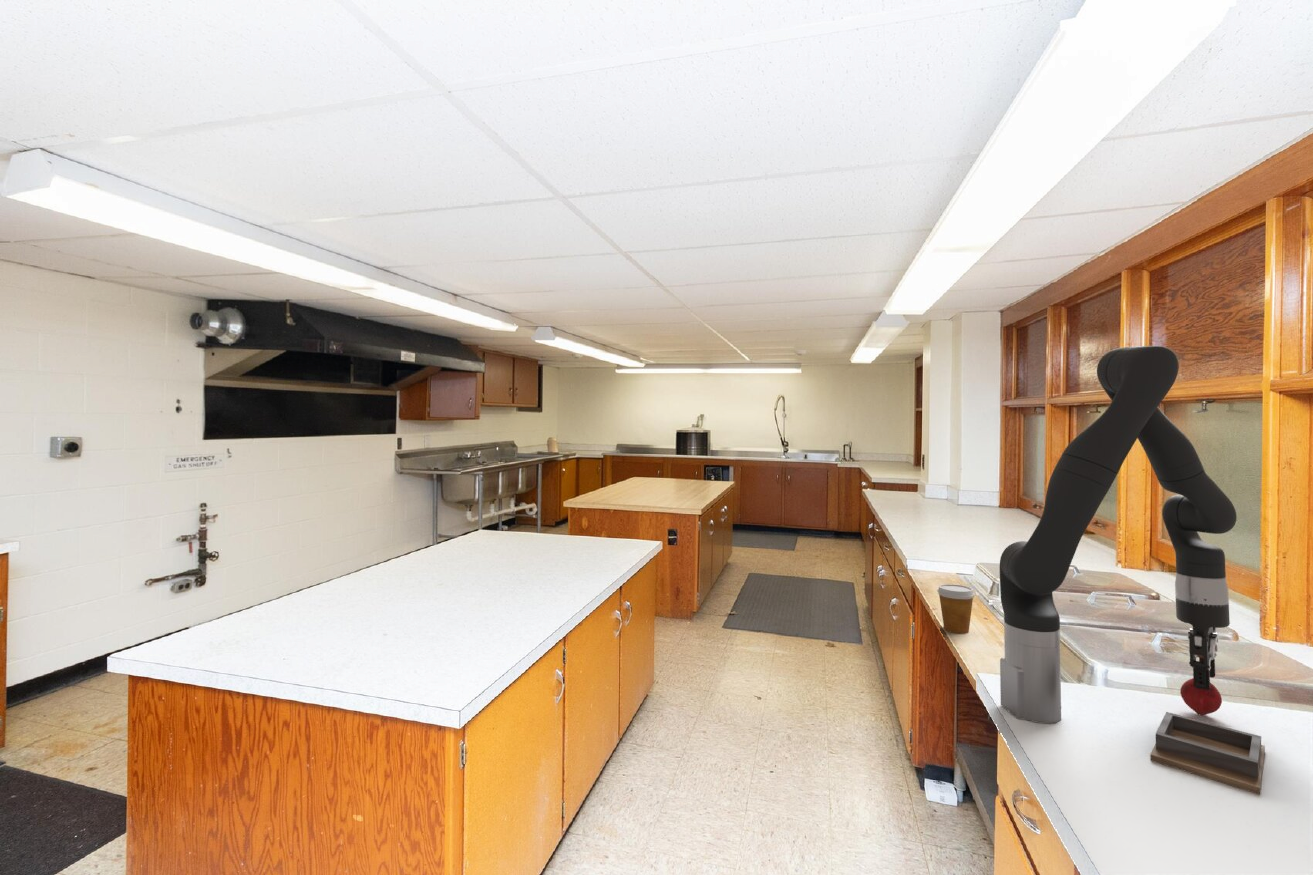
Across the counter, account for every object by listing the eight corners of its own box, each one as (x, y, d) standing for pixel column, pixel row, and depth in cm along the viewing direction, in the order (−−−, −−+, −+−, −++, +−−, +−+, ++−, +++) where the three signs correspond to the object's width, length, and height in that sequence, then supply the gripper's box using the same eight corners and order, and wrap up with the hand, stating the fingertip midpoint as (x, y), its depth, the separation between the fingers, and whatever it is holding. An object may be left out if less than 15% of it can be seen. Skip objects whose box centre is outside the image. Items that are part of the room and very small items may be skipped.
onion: (1230, 723, 108) (1229, 681, 108) (1194, 720, 109) (1194, 678, 109) (1207, 709, 113) (1206, 669, 113) (1173, 707, 114) (1173, 667, 115)
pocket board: (1260, 794, 86) (1259, 771, 86) (1150, 760, 95) (1150, 739, 95) (1264, 751, 98) (1264, 731, 98) (1166, 724, 107) (1166, 706, 107)
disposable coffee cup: (976, 628, 164) (975, 586, 164) (974, 637, 156) (973, 593, 156) (939, 622, 169) (939, 582, 169) (935, 631, 161) (935, 589, 161)
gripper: (1224, 609, 103) (1228, 699, 103) (1232, 595, 113) (1235, 677, 112) (1169, 601, 109) (1173, 687, 109) (1181, 588, 118) (1184, 667, 118)
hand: (1204, 682), depth 111 cm, fingers open, 8 cm apart
